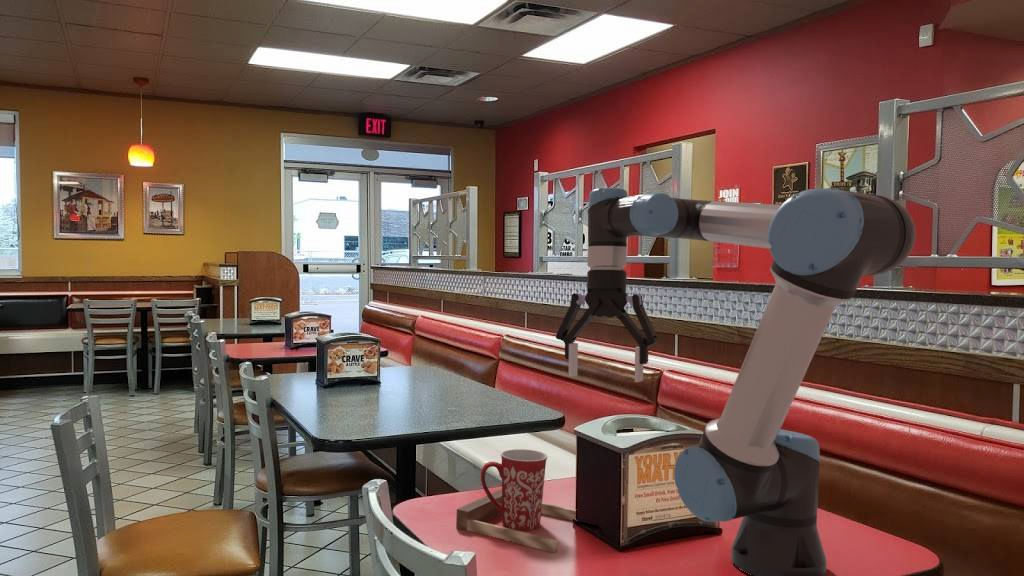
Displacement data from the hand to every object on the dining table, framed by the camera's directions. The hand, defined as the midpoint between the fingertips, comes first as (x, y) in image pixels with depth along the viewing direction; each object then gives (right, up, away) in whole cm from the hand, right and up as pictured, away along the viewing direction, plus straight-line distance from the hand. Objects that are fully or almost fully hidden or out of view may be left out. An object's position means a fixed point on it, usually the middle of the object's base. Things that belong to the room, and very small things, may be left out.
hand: (605, 378), depth 144 cm
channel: (-15, -28, -3) cm, 32 cm away
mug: (-18, -28, -1) cm, 33 cm away
